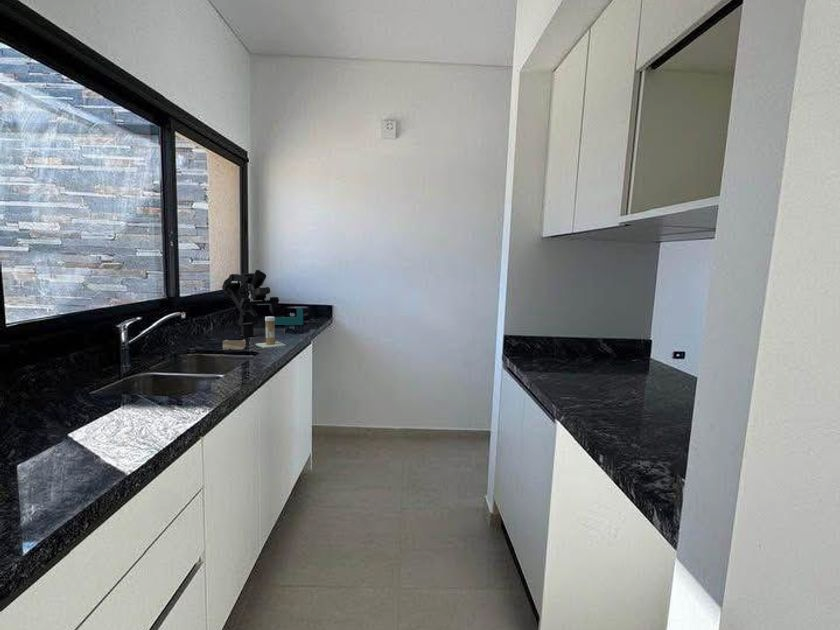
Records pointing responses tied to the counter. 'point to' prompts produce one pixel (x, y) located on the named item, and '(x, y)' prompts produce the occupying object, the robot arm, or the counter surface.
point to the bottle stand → (234, 344)
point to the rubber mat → (264, 345)
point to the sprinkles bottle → (270, 330)
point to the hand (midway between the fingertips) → (264, 315)
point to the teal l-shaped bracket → (290, 319)
